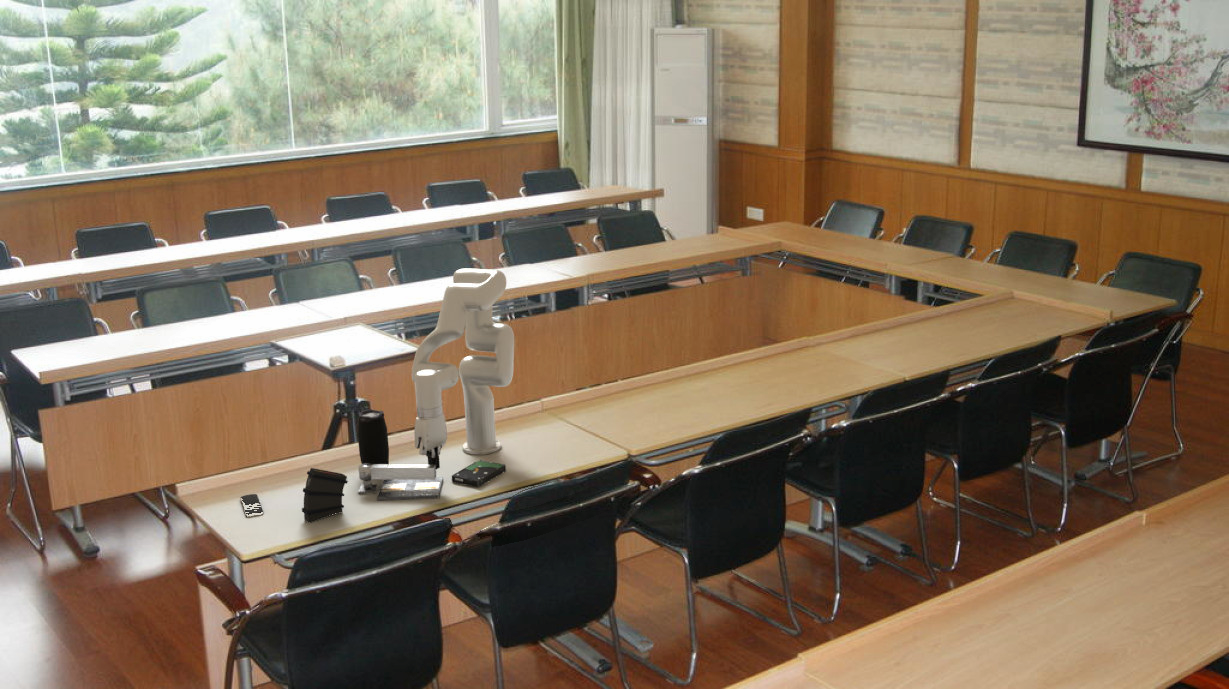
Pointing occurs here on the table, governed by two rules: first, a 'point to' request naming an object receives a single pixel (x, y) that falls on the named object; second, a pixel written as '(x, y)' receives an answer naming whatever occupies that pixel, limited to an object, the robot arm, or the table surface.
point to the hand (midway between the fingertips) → (434, 467)
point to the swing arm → (397, 471)
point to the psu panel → (409, 489)
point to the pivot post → (367, 487)
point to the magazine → (323, 494)
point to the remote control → (252, 500)
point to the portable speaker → (373, 437)
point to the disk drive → (478, 473)
